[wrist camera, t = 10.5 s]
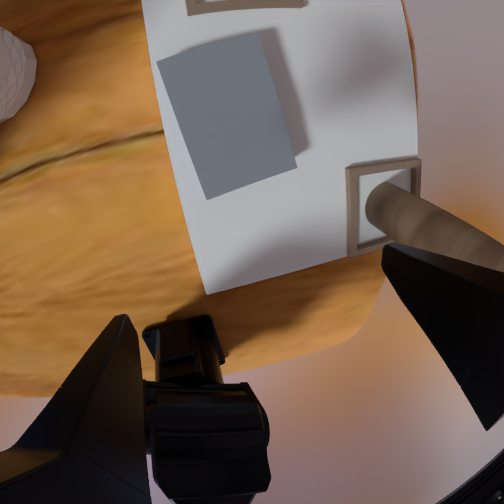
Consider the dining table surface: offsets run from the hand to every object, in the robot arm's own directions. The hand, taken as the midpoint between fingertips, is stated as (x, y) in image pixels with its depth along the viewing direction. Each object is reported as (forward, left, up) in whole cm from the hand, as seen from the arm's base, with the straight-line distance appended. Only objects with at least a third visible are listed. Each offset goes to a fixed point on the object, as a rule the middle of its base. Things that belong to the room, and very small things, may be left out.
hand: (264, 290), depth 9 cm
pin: (-4, -13, -12) cm, 18 cm away
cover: (+5, -1, -12) cm, 13 cm away
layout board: (+6, -7, -13) cm, 16 cm away
